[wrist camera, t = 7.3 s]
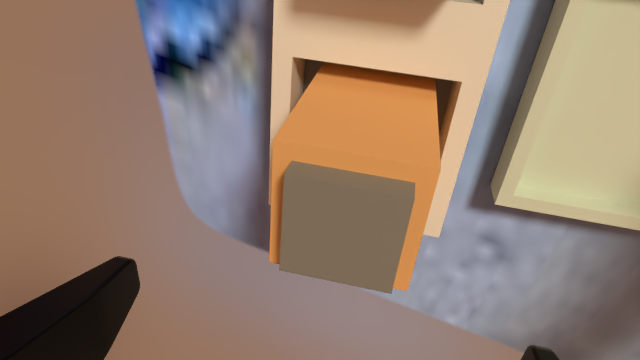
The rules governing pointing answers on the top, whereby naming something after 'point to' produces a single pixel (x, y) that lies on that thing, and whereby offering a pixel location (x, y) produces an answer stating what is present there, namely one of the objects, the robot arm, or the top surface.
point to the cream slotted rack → (392, 61)
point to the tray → (579, 119)
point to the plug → (355, 177)
